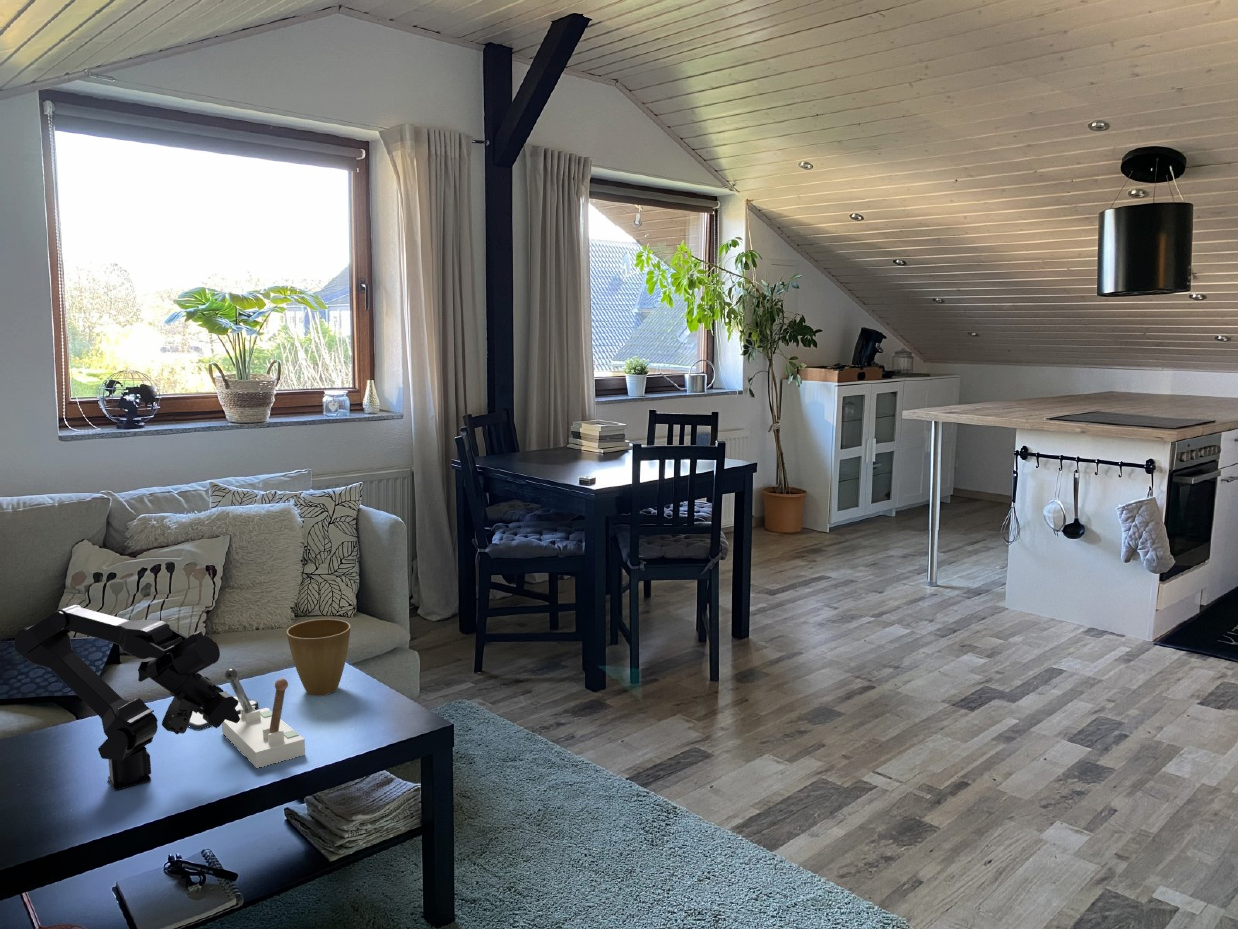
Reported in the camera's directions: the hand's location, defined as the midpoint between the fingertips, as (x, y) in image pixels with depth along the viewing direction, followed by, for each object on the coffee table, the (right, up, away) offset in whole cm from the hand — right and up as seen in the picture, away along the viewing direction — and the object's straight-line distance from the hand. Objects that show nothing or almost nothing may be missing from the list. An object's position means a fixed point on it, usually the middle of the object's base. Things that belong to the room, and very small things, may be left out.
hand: (238, 720), depth 191 cm
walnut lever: (+5, -4, +5) cm, 9 cm away
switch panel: (+1, -8, +11) cm, 14 cm away
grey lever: (-4, -3, +16) cm, 17 cm away
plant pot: (+4, -4, +42) cm, 42 cm away
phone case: (-16, -7, +28) cm, 32 cm away
